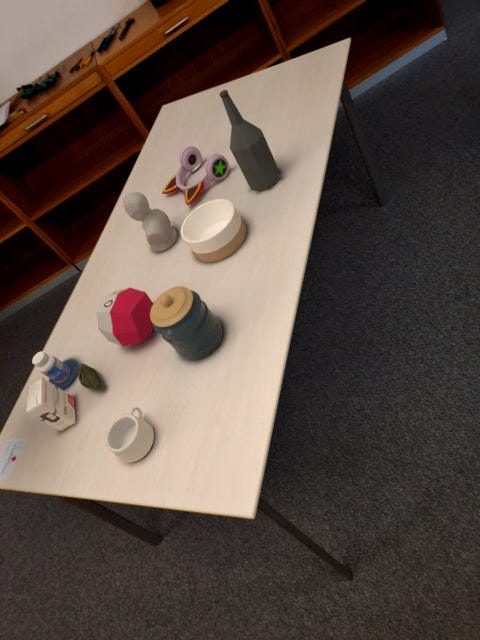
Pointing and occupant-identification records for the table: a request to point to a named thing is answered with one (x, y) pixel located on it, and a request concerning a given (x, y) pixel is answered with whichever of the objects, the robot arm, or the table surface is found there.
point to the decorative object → (125, 317)
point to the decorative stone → (89, 377)
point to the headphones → (189, 160)
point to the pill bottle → (51, 367)
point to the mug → (130, 437)
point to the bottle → (250, 149)
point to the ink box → (50, 404)
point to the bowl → (213, 230)
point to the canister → (186, 323)
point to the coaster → (72, 376)
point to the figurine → (150, 221)
